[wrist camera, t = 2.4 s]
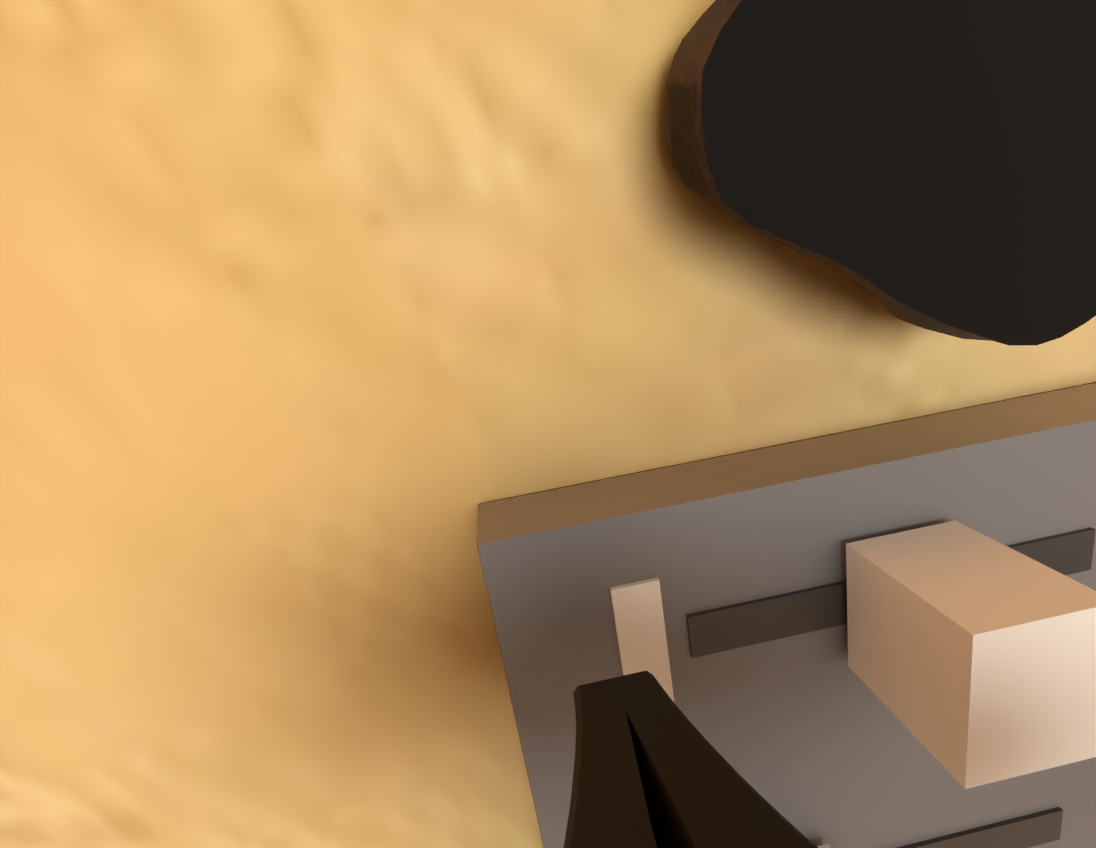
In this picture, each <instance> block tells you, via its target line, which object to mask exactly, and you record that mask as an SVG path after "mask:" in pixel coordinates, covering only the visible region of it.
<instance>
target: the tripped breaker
mask: <svg viewBox="0 0 1096 848" xmlns="http://www.w3.org/2000/svg"><path fill="white" fill-rule="evenodd" d="M846 576H847V627H848V667H849V668H850V669H851V670H852V671H853V672H854V673H855V674H856V675H857V676H858V677H859V678H860V679H861V680H862V681H863V682H864V683H865V684H866V685H867V687H868V688H869V689H870V690H871V691H872V692H873V693H874V694H875V695H876V696H877V697H878V698H879V699H880V700H881V701H882V702H883V703H884V704H885V705H886V707H887V708H888V709H889V710H890V711H891V712H892V713H893V714H894V715H895V716H896V717H897V718H898V719H899V720H900V721H901V722H902V723H903V724H904V725H905V727H906V728H907V729H908V730H909V731H910V732H911V733H912V734H913V735H914V736H915V737H916V738H917V739H918V740H919V741H920V742H921V743H922V744H923V745H924V747H925V748H926V749H927V750H928V751H929V752H930V753H931V754H932V755H933V756H934V757H935V758H936V759H937V760H938V761H939V762H940V763H941V764H942V765H943V767H944V768H945V769H946V770H947V771H948V772H949V773H950V774H951V775H952V776H953V777H954V778H955V779H956V780H957V781H958V782H959V783H960V784H961V785H962V786H963V788H964V789H968V788H972V787H977V786H981V785H985V784H989V783H993V782H997V781H1001V780H1005V779H1009V778H1013V777H1017V776H1021V775H1025V774H1029V773H1033V772H1037V771H1041V770H1045V769H1050V768H1054V767H1058V766H1062V765H1066V764H1070V763H1074V762H1078V761H1082V760H1086V759H1090V758H1094V757H1096V591H1095V590H1093V589H1091V588H1089V587H1087V586H1085V585H1083V584H1081V583H1079V582H1077V581H1075V580H1073V579H1071V578H1069V577H1067V576H1065V575H1063V574H1061V573H1059V572H1057V571H1055V570H1053V569H1051V568H1049V567H1047V566H1045V565H1043V564H1041V563H1039V562H1037V561H1035V560H1033V559H1031V558H1029V557H1027V556H1026V555H1024V554H1022V553H1020V552H1018V551H1016V550H1014V549H1012V548H1010V547H1008V546H1006V545H1004V544H1002V543H1000V542H998V541H996V540H994V539H992V538H990V537H988V536H986V535H984V534H982V533H980V532H978V531H976V530H974V529H972V528H970V527H968V526H966V525H964V524H962V523H960V522H958V521H956V520H955V521H950V522H946V523H941V524H936V525H931V526H927V527H922V528H917V529H912V530H908V531H903V532H898V533H894V534H889V535H884V536H879V537H875V538H870V539H865V540H860V541H856V542H851V543H846Z"/></svg>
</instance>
